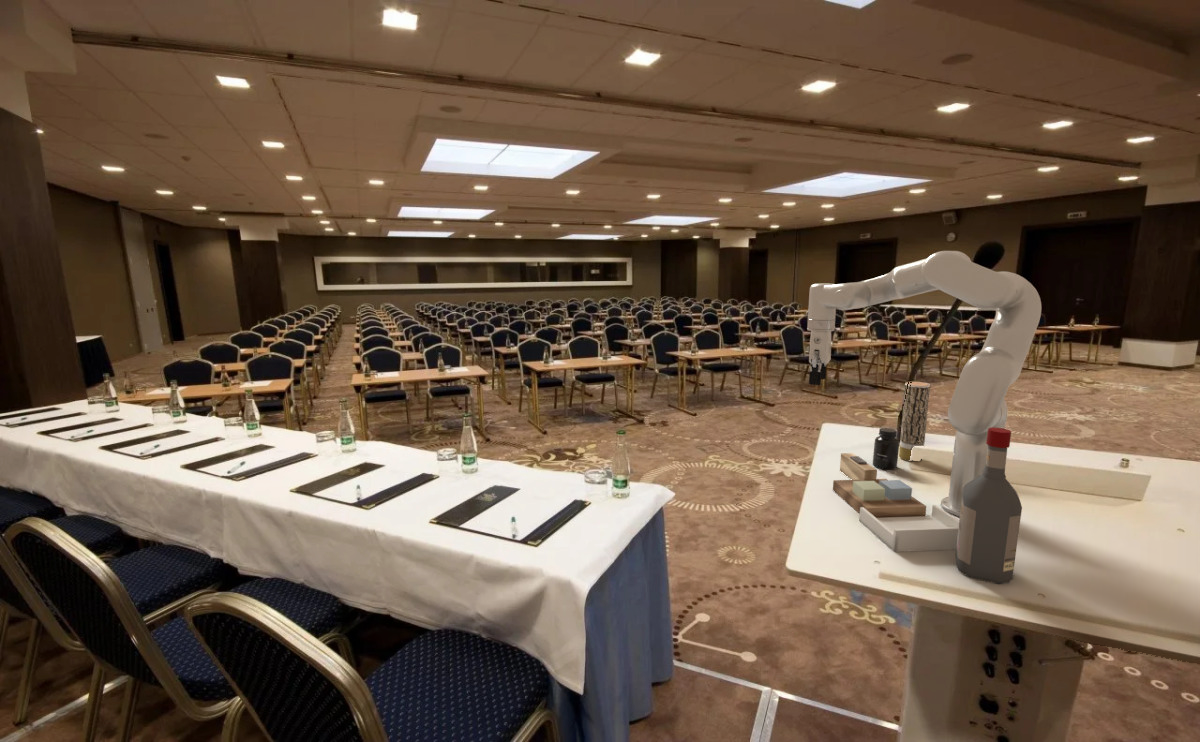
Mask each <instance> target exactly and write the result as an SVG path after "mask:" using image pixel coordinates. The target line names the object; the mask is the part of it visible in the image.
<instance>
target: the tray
mask: <svg viewBox="0 0 1200 742" xmlns="http://www.w3.org/2000/svg"><path fill="white" fill-rule="evenodd" d="M959 520H960V519H958V518H956V517H955V516H953V514H951V513H949V512H948V511H946V510H945V509H943V508H941V507H939V506H938V505H936V504H932V507H931V515H925V516H917V517H886V518H876V517H875V516H873V515H872V514H871V513H870V512H869V511H867V510H866V509H865V508H864V507H860V514H859V522H860V523H861V524H862V525H863V526H865V528H867V529H868V530H869V531H870V532H872V534H874V535H875V536H876V537H877V538H878V539H879V540H880V541H882V542H883V544H885V545H886V546H887V547H888V548H889V549H890V550H891V551H892V552H894V553H897V552H898V553H899V552H924V551H950V550H951V551H952V550H953V551H954V550H955V551H956V547H957V538H958V529H959Z"/></svg>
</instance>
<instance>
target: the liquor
mask: <svg viewBox="0 0 1200 742" xmlns="http://www.w3.org/2000/svg"><path fill="white" fill-rule="evenodd" d="M1011 436H1012V430H1010V429H1008V428H1005V429H1003V428H994V427H992V428H989V429H988V434H987V441H986V444H987V445H988V448H987V456H986V463H985V468H984V470H983V474H981V475H980V476H978V477H976V478H975V479H973V480H972V481H970V482H968V483H967V484H966V485H965V486H964V488H963V493H962V502H961V511H960V517H959V519H958V520H959V529H958V538H957V547H956V550H955V561H956V568H957V570H958V572H960V573H962V574H963V575H965V576H966V577H968V578H970V579H974V580H980V581H983V582H989V583H991V584H996V585H1002V584H1007V583H1010V582H1011V581H1012V580H1013V578H1014V570H1015V563H1016V555H1017V548H1018V547H1017V546H1018V542H1019V541H1018V540H1019V533H1020V526H1021V519H1022V511H1023V507H1022V502H1021V500H1020V498H1019V497H1020V496H1019V495H1018V492H1017V491H1016V490H1015V488H1014V487H1013V486H1012V484H1011V483H1010V482H1009V480H1008V479H1007V476H1006V464H1007V456H1008V448H1010V445H1011V438H1012V437H1011Z"/></svg>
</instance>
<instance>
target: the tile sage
mask: <svg viewBox="0 0 1200 742" xmlns="http://www.w3.org/2000/svg"><path fill="white" fill-rule="evenodd" d="M852 492H853V493H854V494H855V495H857V496H858V497H859V498H860V499H862V500H863V501H872V500H884V497H885V489H884V488H883V487H882V486H880V485H879V484H877V483H876V482H875V481H853V491H852Z"/></svg>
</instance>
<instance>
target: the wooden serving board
mask: <svg viewBox="0 0 1200 742" xmlns="http://www.w3.org/2000/svg"><path fill="white" fill-rule="evenodd" d="M883 480H888V479H887V478H876V479H862V480H850V479H838V480H837V479H836V480H833V482H832V483H833V484H832V491H833V490H834V491H835V492H836V493H837V494H838V495H837V494H836V493H835V492H834V491H833V492H834V493H835V494H836V495H837V496H838V497H840V498H841V499H842V500H843V501H844V500H845V501H844V502H845V503H847V504H848V505H849V506H850V507H851V508H852V509H854V511H856V513H858V514H859V515H860V507H864V508H865V509H866V510H867V511H869V512H870V513H871V514H872V515H873V516H875V517H876V518H886V517H917V516H927V513H926V512H927V505H926V504H924V503H923V502H921V501H920V500H918V499H916V498H915V497H913V496H912V495H911V499H904V500H889V499H888V498H887V497H884V500H872V501H863V500H862V499H860V498H859V497H858V496H857V495H855V494H854V493H853V492H852V491H853V481H875V482H876V483H877V484H879V481H883Z"/></svg>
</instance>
